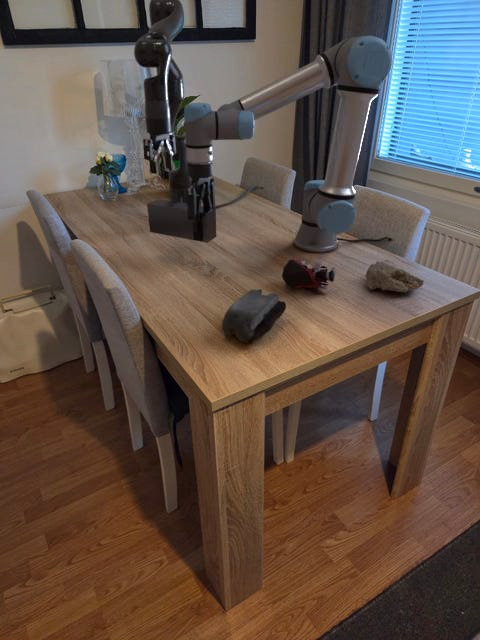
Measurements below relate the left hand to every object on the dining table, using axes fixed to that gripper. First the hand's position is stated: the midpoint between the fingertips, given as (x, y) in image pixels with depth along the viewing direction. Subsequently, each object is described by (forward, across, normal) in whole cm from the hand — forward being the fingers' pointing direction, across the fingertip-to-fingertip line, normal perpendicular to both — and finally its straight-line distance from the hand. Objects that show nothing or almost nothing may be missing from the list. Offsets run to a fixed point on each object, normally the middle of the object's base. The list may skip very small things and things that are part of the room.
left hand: (161, 170), depth 144 cm
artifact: (+28, +8, -75) cm, 81 cm away
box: (+18, -6, -10) cm, 22 cm away
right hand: (+18, -5, -18) cm, 26 cm away
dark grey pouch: (+29, -33, -49) cm, 66 cm away
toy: (+28, -6, -54) cm, 61 cm away
